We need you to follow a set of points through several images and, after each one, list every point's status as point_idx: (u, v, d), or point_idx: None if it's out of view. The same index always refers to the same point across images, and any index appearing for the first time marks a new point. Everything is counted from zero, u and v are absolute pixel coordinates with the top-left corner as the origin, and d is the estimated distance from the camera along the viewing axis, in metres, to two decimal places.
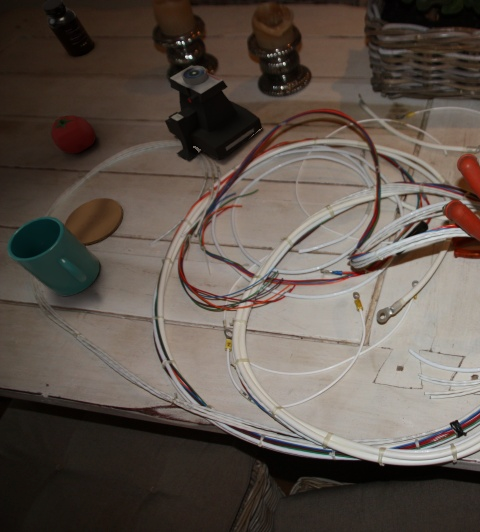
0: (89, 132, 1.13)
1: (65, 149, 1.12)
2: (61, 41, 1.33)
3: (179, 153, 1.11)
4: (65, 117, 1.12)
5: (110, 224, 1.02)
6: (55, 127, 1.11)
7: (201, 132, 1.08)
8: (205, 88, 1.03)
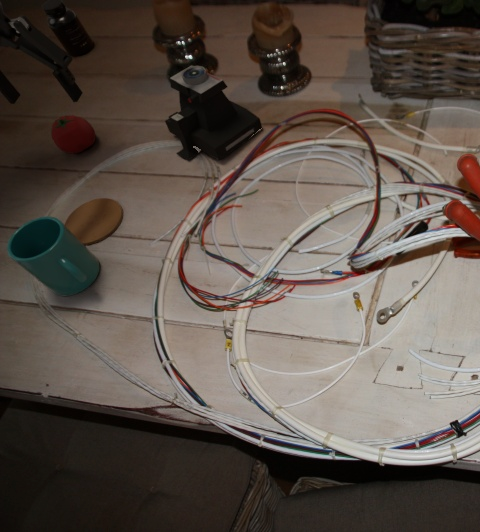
0: (89, 132, 1.13)
1: (65, 149, 1.12)
2: (61, 41, 1.33)
3: (179, 153, 1.11)
4: (65, 117, 1.12)
5: (110, 224, 1.02)
6: (55, 127, 1.11)
7: (201, 132, 1.08)
8: (205, 88, 1.03)
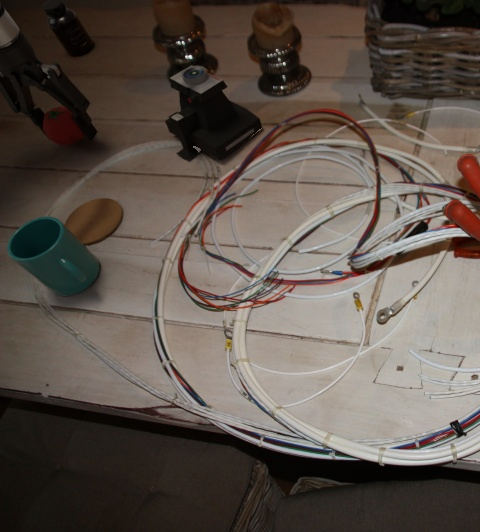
0: None
1: (57, 141, 1.10)
2: (61, 41, 1.33)
3: (179, 153, 1.11)
4: (57, 108, 1.11)
5: (110, 224, 1.02)
6: (47, 118, 1.09)
7: (201, 132, 1.08)
8: (205, 88, 1.03)
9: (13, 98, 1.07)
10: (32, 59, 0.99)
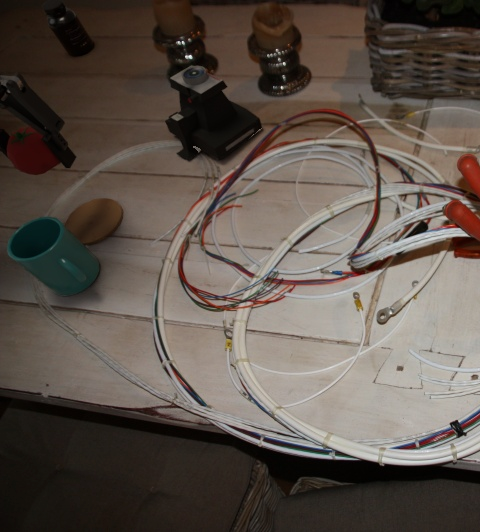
0: None
1: (24, 170, 0.88)
2: (61, 41, 1.33)
3: (179, 153, 1.11)
4: (24, 129, 0.89)
5: (110, 224, 1.02)
6: (11, 142, 0.87)
7: (201, 132, 1.08)
8: (205, 88, 1.03)
9: None
10: None
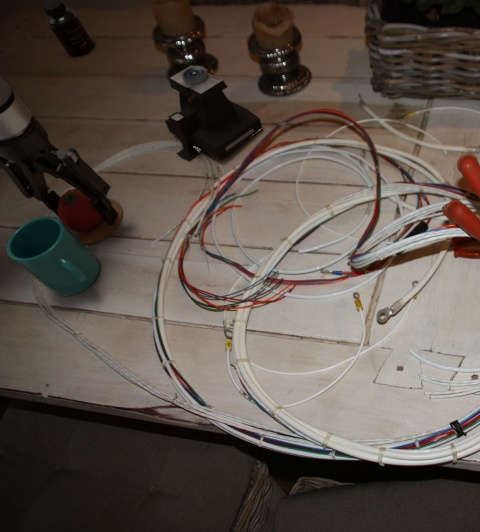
0: None
1: (73, 228, 0.98)
2: (61, 41, 1.33)
3: (179, 153, 1.11)
4: (73, 191, 0.99)
5: None
6: (62, 204, 0.97)
7: (201, 132, 1.08)
8: (205, 88, 1.03)
9: (25, 184, 0.95)
10: (46, 146, 0.87)
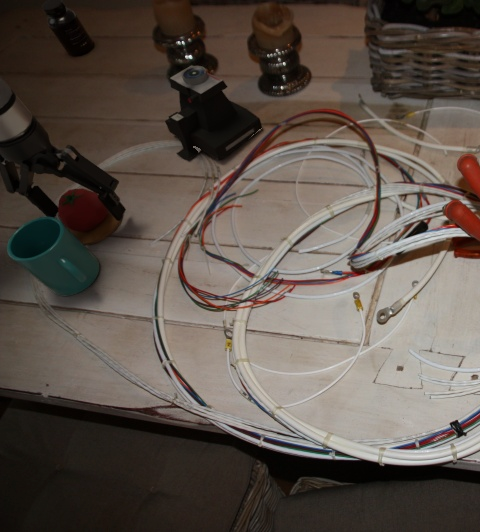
0: (101, 207, 0.99)
1: (73, 228, 0.98)
2: (61, 41, 1.33)
3: (179, 153, 1.11)
4: (73, 191, 0.99)
5: (110, 224, 1.02)
6: (62, 204, 0.97)
7: (201, 132, 1.08)
8: (205, 88, 1.03)
9: (12, 180, 0.94)
10: (46, 147, 0.87)
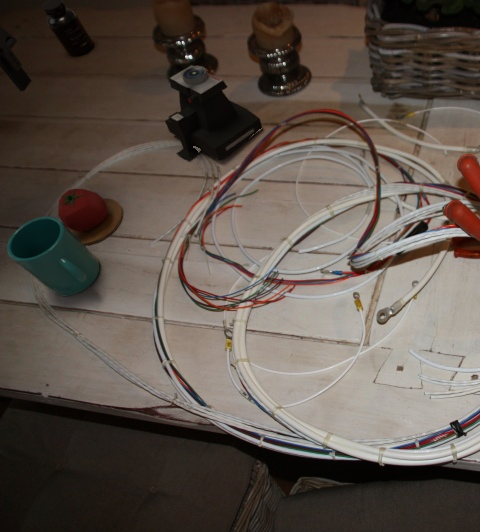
0: (101, 207, 0.99)
1: (73, 228, 0.98)
2: (61, 41, 1.33)
3: (179, 153, 1.11)
4: (73, 191, 0.99)
5: (110, 224, 1.02)
6: (62, 204, 0.97)
7: (201, 132, 1.08)
8: (205, 88, 1.03)
9: None
10: None
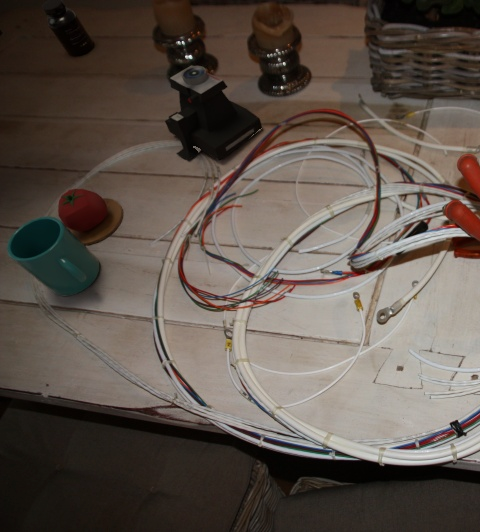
0: (101, 207, 0.99)
1: (73, 228, 0.98)
2: (61, 41, 1.33)
3: (179, 153, 1.11)
4: (73, 191, 0.99)
5: (110, 224, 1.02)
6: (62, 204, 0.97)
7: (201, 133, 1.08)
8: (205, 88, 1.03)
9: None
10: None
